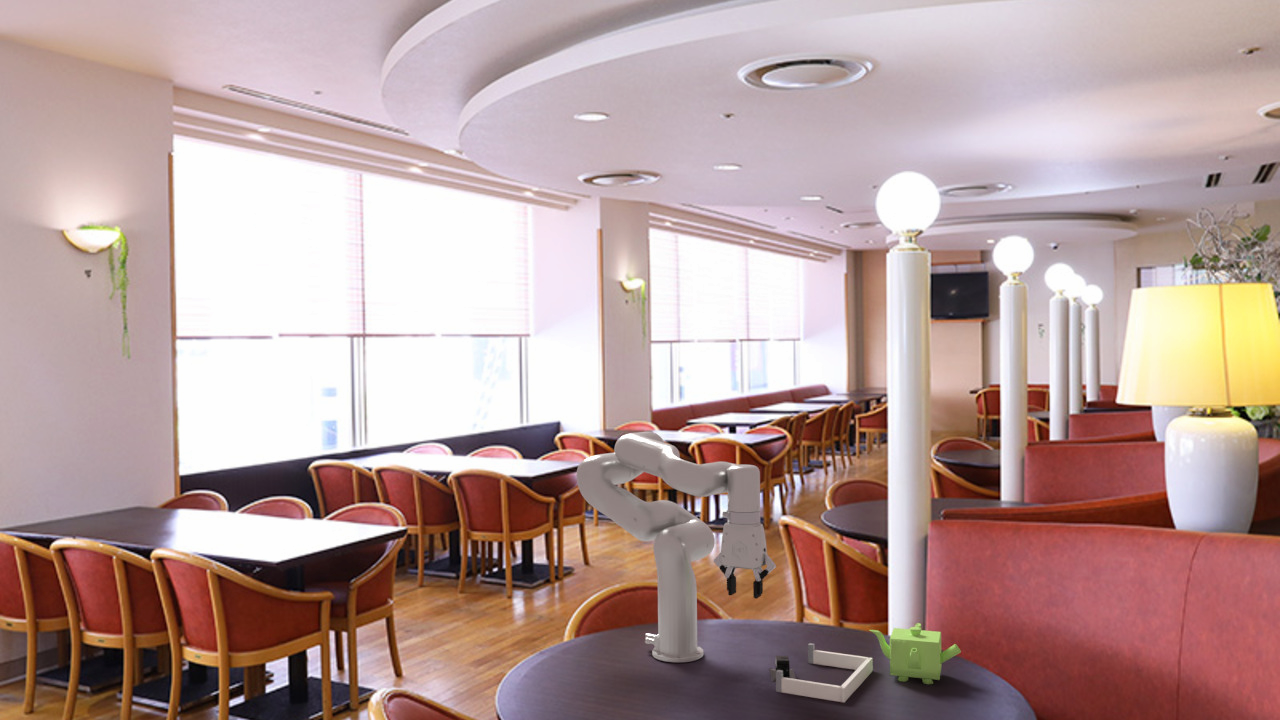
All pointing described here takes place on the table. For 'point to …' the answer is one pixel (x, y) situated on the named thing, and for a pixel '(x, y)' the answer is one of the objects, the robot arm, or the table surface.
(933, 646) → the kettle
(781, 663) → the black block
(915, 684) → the table surface
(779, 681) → the bay
